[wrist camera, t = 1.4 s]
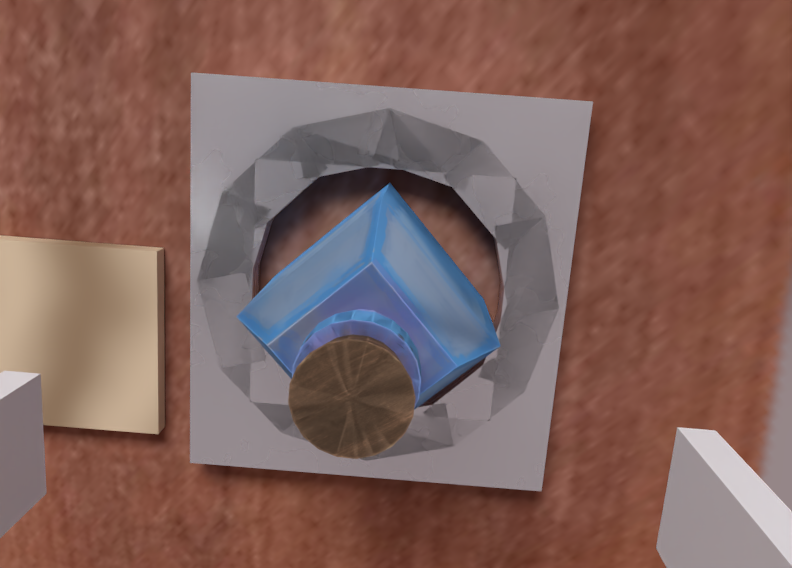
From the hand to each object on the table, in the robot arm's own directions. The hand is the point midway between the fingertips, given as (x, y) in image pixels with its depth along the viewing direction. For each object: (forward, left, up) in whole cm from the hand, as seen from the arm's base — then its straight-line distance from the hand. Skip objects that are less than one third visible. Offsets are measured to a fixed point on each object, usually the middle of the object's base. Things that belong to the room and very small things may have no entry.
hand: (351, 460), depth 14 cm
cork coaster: (-13, -3, -15) cm, 20 cm away
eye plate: (0, 0, -15) cm, 15 cm away
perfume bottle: (0, 0, -15) cm, 15 cm away
